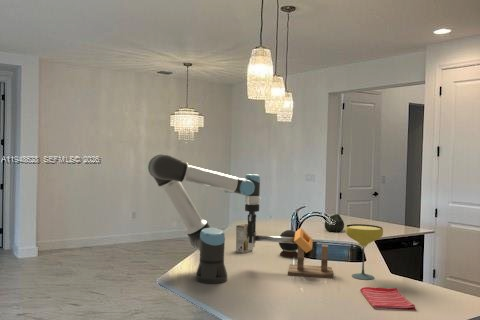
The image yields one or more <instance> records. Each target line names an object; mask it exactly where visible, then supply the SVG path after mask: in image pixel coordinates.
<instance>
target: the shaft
mask: <svg viewBox="0 0 480 320" xmlns="http://www.w3.org/2000/svg"><path fill="white" fill-rule="evenodd" d="M294 238H295V237H280V236H279V235H277V236H275V235H258V234H257V232H255V233H253V244H255V245H256V242H266V243H279V242H281V243H295V242H294Z"/></svg>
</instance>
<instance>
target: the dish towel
mask: <svg viewBox="0 0 480 320" xmlns="http://www.w3.org/2000/svg"><path fill="white" fill-rule="evenodd" d="M360 293H361V294H362V296H364V298H365V300H366V301H367V302H368V303H369V304H370V306H371V307H372V308H373V309H375V310H387V311H389V310H390V311H412V312H413V311H415V312H416V311H417V308H416V305H415V304H414V303H412V302H411V301H409V300H408V299H407V298H406V297H405V296H404V295H403V294H402V293H401V292H400V291H399V290H398V288H397V287H395V288H394V287H392V288H384V287H373V286H372V287H370V286H364V287H361V288H360Z"/></svg>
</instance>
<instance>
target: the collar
mask: <svg viewBox="0 0 480 320" xmlns="http://www.w3.org/2000/svg"><path fill="white" fill-rule="evenodd" d="M313 240H314V239H313V238H312V237H311V236H310V235H309V234H308V233H307V232H306V231H305V230H304V229H303V228H302V227H300V228H298V229H297V230H296V231H295V238H294V242H295V243H296V244H297V245H298V246H300V247H301V248H302V249H303V250H304V253H305V254H307V253H308V252H310V251H312V250H313V243H314V241H313Z"/></svg>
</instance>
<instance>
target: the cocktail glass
mask: <svg viewBox="0 0 480 320" xmlns="http://www.w3.org/2000/svg"><path fill="white" fill-rule="evenodd" d="M345 234H346V235H347V236H348V237H349V238H350V239H352V240H354V241H356V242H357V243H359V245H360V247H362V262H361V263H362V264H361V273H358V272H357V273H353V274H351V277H352V278H353V279H357V280H362V281H370V280H374V279H375V277H374V276H373V275H372V274H368V273H365V248H366V247H367V246H368V245H369V244H371V243H373V242H375V241H377V240H379V239H380V238H382V237H383V236H384V228H383V227H382V226H379V225H375V224H374V225H372V224H366V223H365V224H362V223H361V224H359V223H353V224H347V225H346V226H345Z"/></svg>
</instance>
